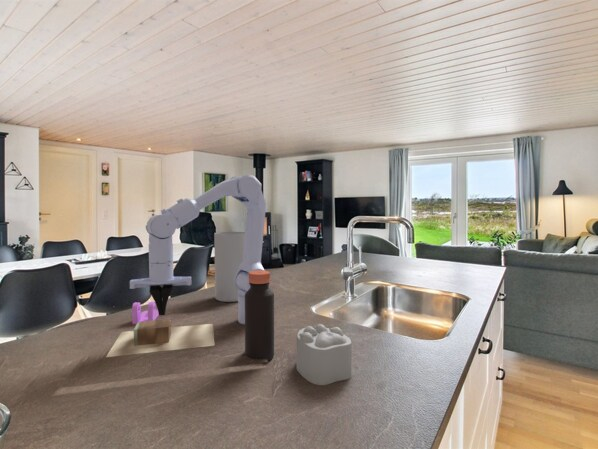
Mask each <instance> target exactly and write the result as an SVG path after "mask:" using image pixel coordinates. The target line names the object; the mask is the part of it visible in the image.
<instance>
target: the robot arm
mask: <svg viewBox="0 0 598 449" xmlns="http://www.w3.org/2000/svg"><path fill="white" fill-rule="evenodd" d="M262 185H263V184H262V183H261V182H260V181H259V180H258V178H257V177H256V176H254V175H253V174H245V175H241V176H232V177H231V178H229V179H225V180H223V181H222V182H219V183H217V184H216V185H215V186H213V187H211V188H209V189H208V190H206V191H205V192H203V193H202V194H200V195H199V196H197V197H195V198H194V199H191V198H184V199H183V198H179V199H178V200H176V202H177V203H175V204H174V205H172V206H170V207H168V208H167V209H166V208H163V209H161V210H160V213H161V214H155V215H152V216H151V217H150V218H149V219H148V220H147V223H146V225H145V229H146V232H147V233H148V277H147V278H146V277H145V278H137V279H135V278H134V279H131V280H129V289H130V290H132V289H133V290H134V289H138V288H139V289H142V288H149V294H150V296H151V297H152V299H153V302H155V307H156V308H157V309H156V310H158V313H159V316H160V317H161V316H165V315H166V312H167V310H166V309H167V306H168V300H169V298H170V296H171V294H172V290H173V287H174V286H176V287H177V286H192V276H174V247H173V246H174V244H173V235H174V234H175V232H176V230H178V229H180V228H182V227H183V226H185V225H187V224H189V223H190V222H191V221H193V220H195V219H196V218H198V217H199V216H200V212H201V210H203V209H205V208H206V207H208V206H210V205H211V204H213V203H215V202H217V201H218V200H221V199H223V198H224V197H230V196H231V197H232V198H234V199H235V200H237V201H239V202H240V204H242V205H243V206H244V207H245V208H246V222H245V231H244V232H245V242H244V253H243V261H242V263H241V264H240V265H239V269H238V273H237V275H236V276H235V285H236V287H237V288H238V301H237V302H238V303H237V307H238V312H237V313H238V314H237V315H238V316H237V317H238V319H237V320H238V321H237V322H238V323H239V324H241V325H245V293H246V292H247V291H248V290H249V289H250V285H249V272H251V271H266V270H265V268H264V267H263V265H262V254H263V253H262V252H263V243H264V230H265V223H266V221H265V219H266V210H267V202H266V199H265V197H264V194H263V191H262ZM159 316H158V317H159Z"/></svg>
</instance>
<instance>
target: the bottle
mask: <svg viewBox="0 0 598 449" xmlns="http://www.w3.org/2000/svg"><path fill="white" fill-rule="evenodd" d="M270 283H271V272H270V271H269V270H265V271H251V272H249V285H250V289H249V290H248V291H247V292H246V293H245V324H244V354H245V356H246V357H247V358H248V359H252V360H265V359H266V361H268V362H269V361H271V360H272V359H273V358H274V356H275V293H274V291H273V290H271V288H270V286H269V285H270Z"/></svg>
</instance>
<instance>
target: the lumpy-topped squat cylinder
mask: <svg viewBox="0 0 598 449" xmlns="http://www.w3.org/2000/svg"><path fill="white" fill-rule="evenodd" d="M352 344H353V342H352V339H351V338H350V337H348V336H347V335H345V333H343V330H342V329H341V328H340V327H339V326H333V327H326V326H325V325H324V324H322V323H318V324H316V325H312V326H311V325H307V326H305V327H303V328H301V329H299V331H298V332H297V335H296V371H297V372H298V373H299V374H300V375H301V376H302V377H303V378H304V379H306V381H308V382H309V383H312V384H314V385H316V386H327V385H331V384H333V383H335V382H340V381H346V380H348V379H351V377H352V360H353V359H352V358H353V357H352V356H353V355H352V354H353V352H352V351H353V350H352V349H353V348H352V347H353V346H352Z"/></svg>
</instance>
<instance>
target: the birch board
mask: <svg viewBox="0 0 598 449" xmlns="http://www.w3.org/2000/svg"><path fill="white" fill-rule="evenodd" d="M215 345H216V344H215V334H214V324H213V323H206V324H205V323H204V324H196V325H194V324H193V325H184V326H183V325H182V326H181V325H180V326H171V336H170V340H169V342H168V343H158V344H148V345H138V346H134V330H128V331H126V330H125V331H121V332H120V334H119V335H118V337H117V339H115V342H114V344H113V345H112V347H111V348H110V350H109V351H108V353H107V355H106V356H105V358H113V357H121V356H130V355H139V354H140V355H141V354H150V353H157V352H158V353H159V352H166V351H167V352H169V351H178V350H188V349H196V348H204V347H205V348H206V347H214V346H215Z"/></svg>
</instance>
